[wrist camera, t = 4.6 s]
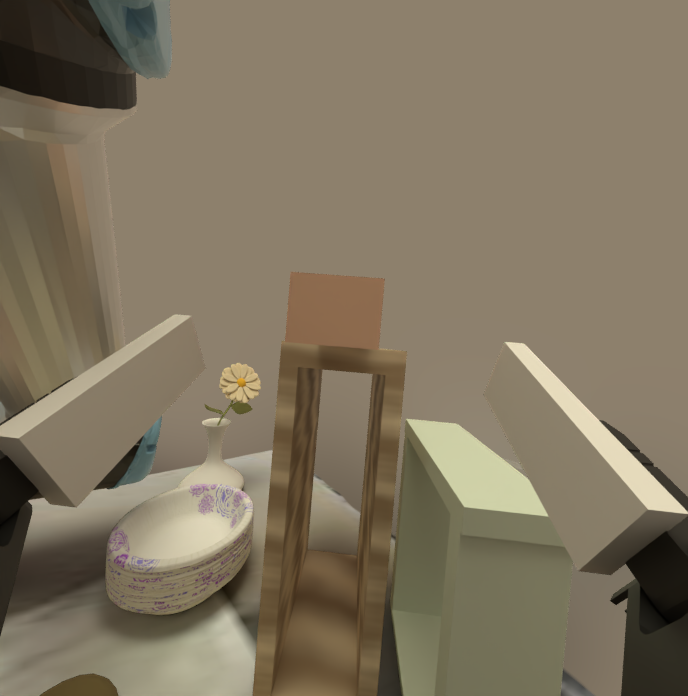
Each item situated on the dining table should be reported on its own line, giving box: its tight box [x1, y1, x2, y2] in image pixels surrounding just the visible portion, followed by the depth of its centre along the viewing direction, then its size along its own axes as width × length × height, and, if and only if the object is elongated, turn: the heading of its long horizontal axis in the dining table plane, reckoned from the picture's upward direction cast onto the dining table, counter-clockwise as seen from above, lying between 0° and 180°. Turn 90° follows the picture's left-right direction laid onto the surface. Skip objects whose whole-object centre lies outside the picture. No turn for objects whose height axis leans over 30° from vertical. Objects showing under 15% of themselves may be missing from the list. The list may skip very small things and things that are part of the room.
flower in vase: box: [177, 363, 261, 490], centre depth 51 cm, size 13×11×25 cm
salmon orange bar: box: [285, 272, 385, 350], centre depth 24 cm, size 26×4×3 cm, turn 177°
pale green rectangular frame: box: [390, 419, 573, 696], centre depth 23 cm, size 18×6×22 cm, turn 177°
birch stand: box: [253, 341, 407, 696], centre depth 30 cm, size 16×10×30 cm, turn 177°
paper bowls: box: [105, 484, 254, 615], centre depth 33 cm, size 15×15×8 cm
